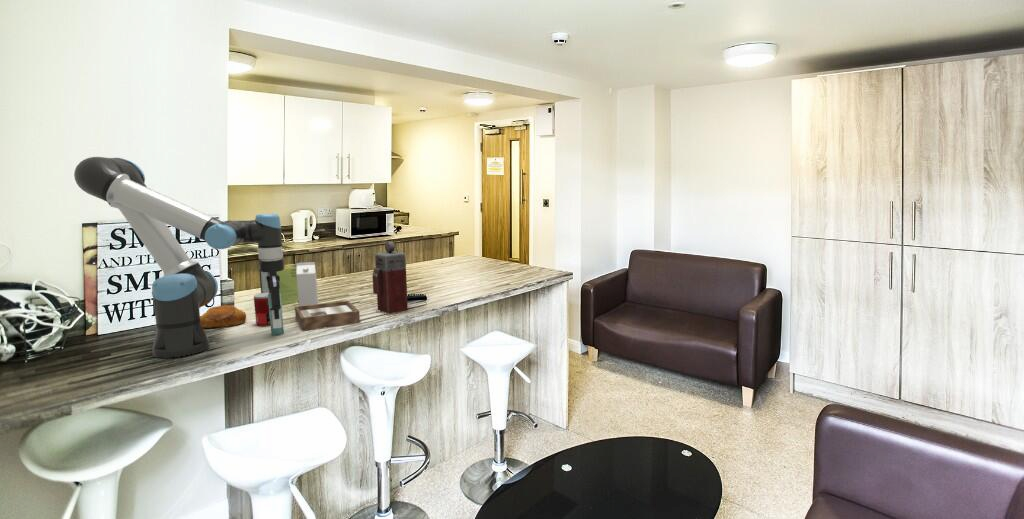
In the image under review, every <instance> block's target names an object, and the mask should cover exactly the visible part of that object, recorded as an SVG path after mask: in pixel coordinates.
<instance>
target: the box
mask: <svg viewBox="0 0 1024 519" xmlns="http://www.w3.org/2000/svg"><path fill="white" fill-rule="evenodd" d="M294 313H295V314H294V315H295V316H294V317H295V320H296V321H298V322H297V323H298V325H299V327H300V329H301V331H302V330H304V331H310V330H309V329H312V330H317V329H316V328H319V329H325V328H324V327H326V328H332V327H338V326H339V327H340V326H346V325H354V324H360V323H361V320H360V318H361V316H360V310H359V309H358V308H356V306H354V305H353V304H352V302H350V301H349V300H342V301H341V300H340V301H334V302H324V303H318V304H314V305H306V306H299V305H297V306H294Z"/></svg>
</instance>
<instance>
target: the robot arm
mask: <svg viewBox="0 0 1024 519" xmlns="http://www.w3.org/2000/svg"><path fill="white" fill-rule="evenodd" d="M73 177H74V181H75V183H76V185H77V186H78V187H79V188H80V189H81V190H82V191H83V192H84V193H86V194H88V195H91V196H93V197H95V198H97V199H100V200H102V201H104V202H107V204H108V205H109V206H110V208H113V209H114V208H115V209H118V210H119V211H120V212H121V214H122V215H123V217H124V218H125V220H126V221H127V223H128V224H129V226H130V227H131V228H132V230H133V231H134V233H135V234H136V235H137V238H139V240H140V241H141V242H142V244H143V245H144V246H145V248H146V250H147V251H148V252H149V254H150V255H151V256H152V258H153V260H154V261H155V262H156V263H157V265H158V267H159V268H160V270H161V271H162V272H163V276H161V277H159V278H157V279H155V280H154V281H153V283H152V284H151V289H152V291H151V296H152V301H153V308H154V317H155V324H156V333H155V335H154V339H153V343H152V347H151V351H152V356H153V355H154V356H157V357H156V358H158V357H168V358H167V359H173V358H172V357H175V358H181V357H180V356H183V357H187V356H186V355H188V356H191V355H190V354H192V355H195V353H196V354H199V353H202V352H204V351H206V350H208V349H209V348H210V340H209V338H208V336H207V334H206V331H205V328H203V327H202V325H201V322H200V317H201V315H200V309H201V308H202V307H204V306H206V305H208V304H209V303H210V302H212V300H213V299H215V297H216V295H217V293H218V290H219V285H218V281H217V279H216V277H215V276H214V275H213V274H212V273H211V272H209V271H206V270H204V268H203V267H202V266H201V264H200V262H199V261H196V260H193V259H192V260H191V259H190V257H189V256H188V254H187V253H186V251H185V250H184V248H183V247H182V245H181V244H180V243H179V241H178V240H177V238H176V236H175V234H173V232H172V231H171V229H170V228H169V227H168V226H171V227H172V228H175V229H177V230H180V231H182V232H185V233H187V234H189V235H191V236H192V237H193V236H194V237H196V238H198V239H200V240H202V241H204V242H205V243H206V244H207V245H208V246H209V247H211V248H213V249H215V250H224V249H228V248H231V247H232V246H236V245H239V244H247V243H252V244H253V243H257V250H258V252H257V253H258V259H259V262H258V264H259V269H260V271H261V272H268V276H266V280H267V284H268V288H269V294H270V293H271V302H272V308H271V309H270V310H272V321H273V329H274V328H282V322H281V310H280V308H281V306H280V294H279V288H280V285H279V281H280V277H279V275H277V271H282V270H284V265H285V263H284V262H285V261H284V259H283V257H284V253H283V252H285V251H286V250H285V248H283V240H282V238H283V237H282V226H281V218H280V215H278V214H277V213H259V214H258V213H257V214H256V215H255V219H253V220H252V219H251V220H223V221H221V220H220V219H217V218H215V217H213V216H211V215H209V214H207V213H205V212H202V211H201V210H198V209H195V208H194V207H191V206H189V205H187V204H185V203H182V202H180V201H178V200H175V199H174V198H172V197H168V196H167V195H164V194H162V193H160V192H159V191H156V190H154V189H151V188H149V187H148V186H147V185H146V184H145V182H146V177H145V173H144V171H143V170H142V169H141V167H140V166H139V165H138V164H136V162H133V161H131V160H128V159H125V158H123V157H103V156H91V157H87V158H85V159H82V161H79V163H78V164H77V165H76V166H75V169H74V174H73ZM198 352H199V353H198ZM154 356H153V357H154ZM170 357H171V358H170Z"/></svg>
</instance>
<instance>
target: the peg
mask: <svg viewBox="0 0 1024 519" xmlns="http://www.w3.org/2000/svg"><path fill="white" fill-rule="evenodd" d="M279 294H280V306H281V308H280V310H281V322H282V328H274V329H273V321H272V310H270V309H271V308H272V302H271V293H270V294H268V302H269V314H270V326H269V327H270V334H271V336H280V335H283V334H284V333H285V332H284V331H285V330H284V320H283V319H284V318H283V307H282V306H283V305H281V293H279Z"/></svg>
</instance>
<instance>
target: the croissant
mask: <svg viewBox="0 0 1024 519" xmlns="http://www.w3.org/2000/svg"><path fill="white" fill-rule="evenodd" d="M246 320H247V314H246V312H245V311H243V310H242V309H239V308H237V307H236V306H234V305H228V304H226V305H219V306H214V307H210V308H208V309H207V311H206V312H204V313H203V314H202V315H200V322H201V325H202V327H204V328H203V329H211V328H213V327H215V328H224V327H231V326H237V325H241V324H243V323H245V322H246Z"/></svg>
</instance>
